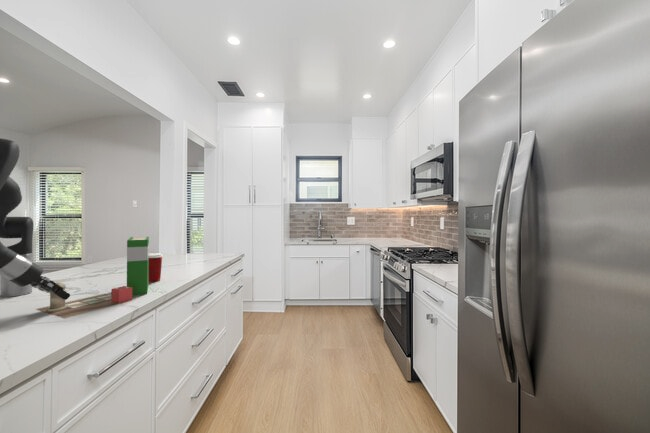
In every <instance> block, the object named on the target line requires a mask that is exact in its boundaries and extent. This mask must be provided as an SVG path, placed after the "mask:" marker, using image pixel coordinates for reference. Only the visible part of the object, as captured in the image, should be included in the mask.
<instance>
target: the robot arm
mask: <svg viewBox="0 0 650 433" xmlns="http://www.w3.org/2000/svg"><path fill="white" fill-rule="evenodd" d="M19 158H20V146H19V144H18V143H17V142H16V141H14V140H11V139H6V138H0V238H1V239H21V240H20V241H19V242H17V243H15V244H12V245H9V246H8V245H7V246H6V245H4V244H3V242H1V241H0V297H2V298H7V297H8V298H9V297H10V298H11V297H18V296H19V297H20V296H23V295H27V294H31V293H32V292H33V288H35V289H37V290H38V291H41V292H45V293H46V294H50V292H51V293H53V294H54V295H57V296H59V297H61V298H62V299H64V300H65V301H66V300H68V299H69V298H70V297H71V294H70V293H69V292H67V291H66V290H65V291H64V290H63V288H62V287H60V286H59V285H58V284H56V283H57V282H55V281H54V280H51V279H50V278H49V277H47V276H43V275H42V274H43V273H44V268H43V267H41V266H40V265H37V263H34V262H33V239H34V238H33V236H34V220H33V218H32V217H31V216H8V215H9V214H10V213H12V211H14V210H15V209H16V208H17V207H18V206H19V205H21V203H22V200H23V196H22V192H21V187H20V186H19V183H17V182H16V181H15V180H14V179H13V178H12V177H10V176H11V175H12V172H13V170H14V169H15V167H16V166H17V163H18V161H19ZM57 288H58V289H57ZM56 289H57V290H56ZM55 290H56V291H55Z"/></svg>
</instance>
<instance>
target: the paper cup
mask: <svg viewBox="0 0 650 433" xmlns="http://www.w3.org/2000/svg"><path fill="white" fill-rule="evenodd" d="M163 257H164V256H163V254H162V253H160V252H158V253H157V252H156V253H149V280H148V283H156V282H160V281H161V275H162V266H163V265H162V262H163Z"/></svg>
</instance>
